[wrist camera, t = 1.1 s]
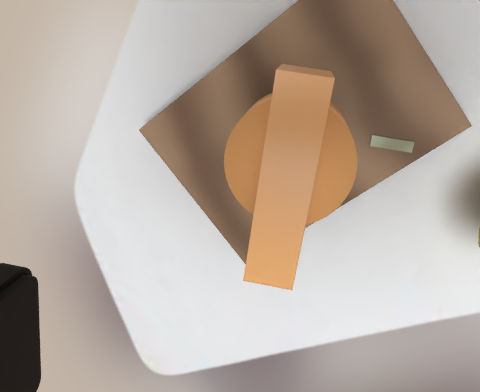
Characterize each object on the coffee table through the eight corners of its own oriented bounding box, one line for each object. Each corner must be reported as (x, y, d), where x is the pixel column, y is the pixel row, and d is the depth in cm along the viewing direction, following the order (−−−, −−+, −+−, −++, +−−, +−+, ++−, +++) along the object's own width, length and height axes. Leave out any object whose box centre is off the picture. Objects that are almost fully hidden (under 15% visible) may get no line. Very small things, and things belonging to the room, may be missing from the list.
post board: (358, -45, 31) (372, -71, 23) (462, 120, 33) (506, 144, 26) (147, 125, 37) (106, 147, 30) (248, 253, 40) (234, 304, 32)
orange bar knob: (247, 54, 26) (221, 61, 19) (369, 72, 25) (392, 86, 18) (225, 220, 30) (196, 282, 22) (331, 240, 29) (337, 310, 22)
